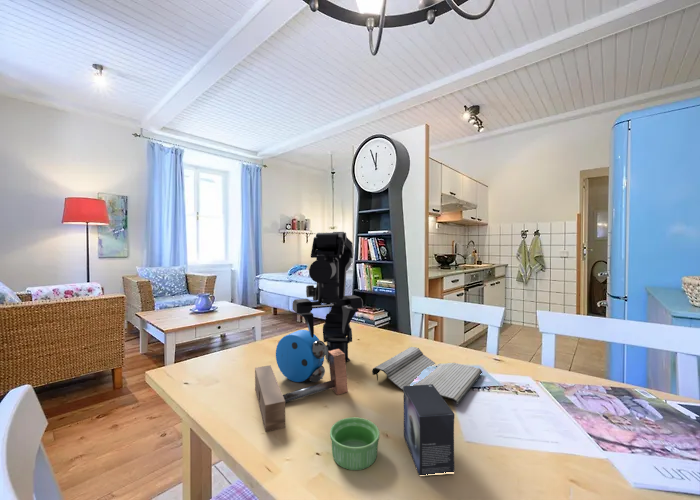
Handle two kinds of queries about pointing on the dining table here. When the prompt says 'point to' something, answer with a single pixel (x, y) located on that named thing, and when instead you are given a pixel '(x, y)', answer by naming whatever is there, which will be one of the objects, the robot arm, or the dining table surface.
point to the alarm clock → (301, 356)
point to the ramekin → (354, 443)
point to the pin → (336, 382)
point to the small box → (428, 429)
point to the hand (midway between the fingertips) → (328, 335)
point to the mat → (444, 378)
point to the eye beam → (269, 398)
